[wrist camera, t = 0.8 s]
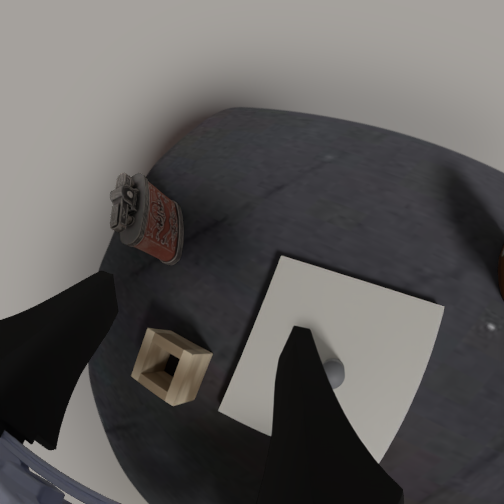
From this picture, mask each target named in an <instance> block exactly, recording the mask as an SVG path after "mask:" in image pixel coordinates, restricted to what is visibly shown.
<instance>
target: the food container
mask: <svg viewBox="0 0 504 504" xmlns="http://www.w3.org/2000/svg"><path fill="white" fill-rule="evenodd" d="M498 281H499V288H500V291H501V295H502V298H503V300H504V245H503V247H502V250H501V253H500V256H499V262H498Z"/></svg>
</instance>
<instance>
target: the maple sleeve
mask: <svg viewBox="0 0 504 504" xmlns="http://www.w3.org/2000/svg"><path fill="white" fill-rule="evenodd" d="M170 354H172V355H174V356H175V357H177V358H179V359H180V361H179V363H178V366H177V369H176V371H175V374H174V377H172V376H171V375H169V374H168V373H166V372H165V371H164V370H165V367H166V364H167V362H168V359H169V356H170ZM212 355H213V353H211V352H209V351H207V350H205V349H204V348H202V347H200V346H198V345H196V344H194V343H192V342H190V341H189V340H187V339H185V338H183V337H181V336H180V335H178V334H176V333H174V332H173V331H171V330H162V329H153V328H148V329H147V331H146V334H145V337H144V340H143V343H142V345H141V348H140V351H139V354H138V357H137V360H136V363H135V366H134V369H133V372H132V375H131V376H132V377H133V378H134V379H135V380H137V381H138V382H139V383H141V384H142V385H143V386H145V387H146V388H147V389H149V390H150V391H151V392H153V393H154V394H156V395H157V396H158V397H160V398H161V399H163V400H164V401H166V402H167V403H169V404H170V405H172V406H175V405H179V404H182V403H185V402H188V401H192V400H194V399H195V397H196V394H197V392H198V389H199V387H200V385H201V382H202V380H203V377H204V375H205V372H206V370H207V367H208V365H209V362H210V360H211V357H212Z"/></svg>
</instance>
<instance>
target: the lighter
mask: <svg viewBox="0 0 504 504" xmlns="http://www.w3.org/2000/svg"><path fill="white" fill-rule="evenodd" d="M110 199H111V201H112V203H113V206H112V213H111V221H110V226H111V229H113V230H114V231H116V232H118V233H120V239H121V242H122V243H123V244H125V245H127V246H130V247H135V248H137V249H140V250H142V251H144V252H146V253H148V254H150V255H152V256H154V257H156V258H158V259H160V261H161V262H163V263H165V264H167V265H173V264H176V263H177V262H178V261H179V260H180V258H181V255H182V247H183V235H184V227H183V216H182V212H181V207H180V205H179V204H177V203H176V202H175V201H172V200H170V199H169V198H168V197H166V196H165V195H164V194H163V193H162V192H160V191H159V190H158V189H157V188H156V187H154V186H153V185H152V184H151V183H149V182H148V179H147V178H146V177H145V176H144V175H142V174H136V175H134V176H132V177H130V176H128V175H127V174H126V173H122V174H120V175H119V176H118V178H117V182H116V188H115V190H113V191H111V193H110Z"/></svg>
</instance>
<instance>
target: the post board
mask: <svg viewBox="0 0 504 504" xmlns="http://www.w3.org/2000/svg"><path fill="white" fill-rule="evenodd" d="M443 311H444V306H441V305H438V304H435V303H431V302H428V301H425V300H422V299H419V298H416V297H413V296H409V295H406V294H403V293H400V292H397V291H394V290H390V289H387V288H384V287H381V286H378V285H375V284H371V283H368V282H365V281H362V280H359V279H355V278H352V277H349V276H346V275H343V274H339V273H336V272H333V271H330V270H327V269H323V268H320V267H317V266H314V265H311V264H307V263H304V262H301V261H298V260H294V259H291V258H288V257H285V256H281V257H280V260H279V263H278V265H277V268H276V271H275V273H274V276H273V278H272V281H271V283H270V286H269V289H268V291H267V294H266V296H265V299H264V301H263V304H262V306H261V309H260V311H259V314H258V316H257V319H256V321H255V324H254V326H253V329H252V331H251V334H250V336H249V339H248V341H247V344H246V346H245V348H244V351H243V353H242V356H241V358H240V361H239V363H238V365H237V368H236V370H235V372H234V375H233V377H232V380H231V382H230V384H229V387H228V389H227V391H226V394H225V396H224V398H223V401H222V403H221V405H220V407H219V410H218V411H220V412H221V413H223V414H225V415H227V416H229V417H231V418H233V419H235V420H237V421H239V422H241V423H243V424H245V425H247V426H249V427H251V428H253V429H255V430H258V431H260V432H262V433H264V434H266V435H269V436H271V434H272V421H273V404H274V386H275V377H276V371H277V365H278V360H279V356H280V354H281V352H282V350H283V348H284V346H285V344H286V341H287V339H288V337H289V335H290V333H291V331H292V328H293V326H294V325H295V326H299V327H304V328H309V329H310V330H311V332H312V335H313V338H314V341H315V344H316V347H317V350H318V353H319V356H320V359H321V361H322V364H323V367H324V369H325V372H326V374H327V377H328V379H329V382H330V384H331V386H332V388H333V391H334V393H335V395H336V397H337V399H338V401H339V403H340V405H341V407H342V409H343V411H344V413H345V415H346V417H347V418H348V420H349V422H350V424H351V425H352V427H353V429H354V430H355V432H356V433H357V435H358V437H359V438H360V440H361V441H362V442H363V444H364V445H365V447H366V448H367V449H368V451H369V452H370V453H371V455H372V456H373V458H374V459H375V460H376V461H377V462H378V464H379V462H380V461H381V459H382V458H383V456H384V454H385V453H386V451H387V449H388V447H389V446H390V444H391V442H392V440H393V439H394V437H395V435H396V433H397V431H398V429H399V427H400V425H401V423H402V421H403V420H404V417H405V415H406V413H407V411H408V409H409V407H410V405H411V403H412V400H413V398H414V396H415V394H416V391H417V389H418V387H419V384H420V382H421V379H422V377H423V374H424V371H425V369H426V366H427V363H428V361H429V358H430V355H431V352H432V349H433V346H434V343H435V340H436V336H437V333H438V330H439V326H440V323H441V319H442V315H443Z"/></svg>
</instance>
